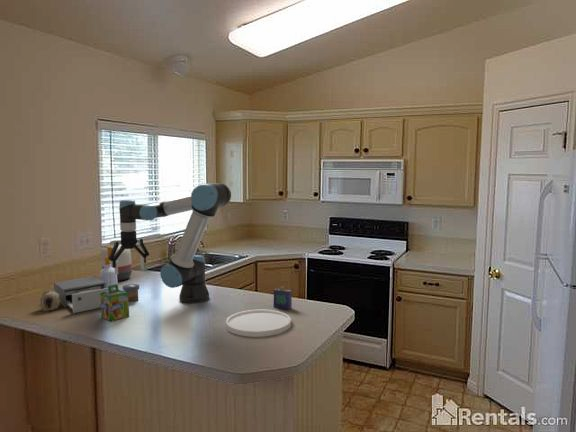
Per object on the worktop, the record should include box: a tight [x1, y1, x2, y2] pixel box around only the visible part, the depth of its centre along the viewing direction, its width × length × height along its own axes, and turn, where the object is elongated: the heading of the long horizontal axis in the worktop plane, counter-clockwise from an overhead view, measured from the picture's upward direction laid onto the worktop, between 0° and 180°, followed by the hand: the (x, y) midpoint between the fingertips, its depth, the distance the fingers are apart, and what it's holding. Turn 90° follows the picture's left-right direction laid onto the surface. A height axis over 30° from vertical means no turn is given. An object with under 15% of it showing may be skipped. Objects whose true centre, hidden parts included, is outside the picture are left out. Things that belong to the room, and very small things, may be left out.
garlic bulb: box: [39, 289, 61, 312], centre depth 212 cm, size 9×8×10 cm
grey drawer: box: [65, 286, 113, 314], centre depth 218 cm, size 18×19×9 cm
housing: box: [53, 275, 106, 308], centre depth 228 cm, size 18×20×9 cm
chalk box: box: [100, 284, 130, 322], centre depth 200 cm, size 9×9×15 cm
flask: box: [273, 286, 293, 310], centre depth 211 cm, size 9×3×11 cm, turn 68°
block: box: [125, 289, 139, 303], centre depth 225 cm, size 5×5×6 cm
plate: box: [225, 308, 292, 338], centre depth 189 cm, size 28×28×2 cm
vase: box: [100, 239, 133, 282], centre depth 269 cm, size 17×17×24 cm
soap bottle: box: [99, 246, 119, 290], centre depth 246 cm, size 9×9×25 cm
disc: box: [122, 283, 140, 291], centre depth 225 cm, size 8×8×2 cm
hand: (129, 271), depth 224 cm, fingers open, 13 cm apart
